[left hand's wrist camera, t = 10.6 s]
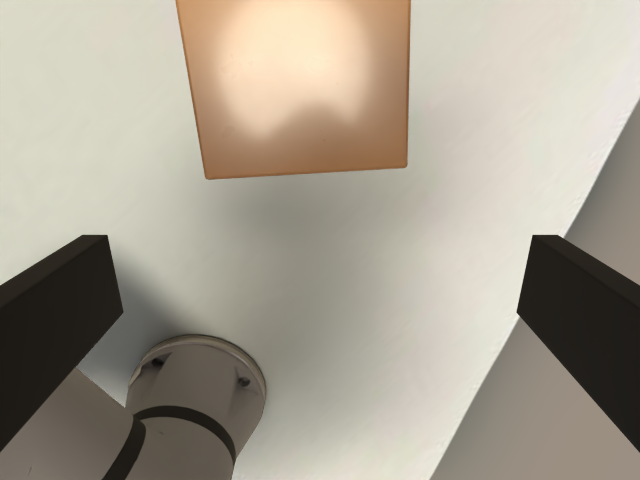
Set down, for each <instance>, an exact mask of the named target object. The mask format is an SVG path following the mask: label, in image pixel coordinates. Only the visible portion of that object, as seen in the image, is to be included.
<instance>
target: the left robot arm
mask: <svg viewBox="0 0 640 480" xmlns="http://www.w3.org/2000/svg"><path fill="white" fill-rule="evenodd" d="M122 313H123V308H122V303H121V298H120V293H119V289H118V284H117V279H116V274H115V269H114V265H113V260H112V255H111V250H110V245H109V241H108V236H107V235H82V236H80V237H78V238H77V239H75V240H73V241H72V242H70V243H69V244H67V245H65V246H64V247H62V248H60V249H59V250H57V251H56V252H54V253H52V254H51V255H49V256H47V257H46V258H44V259H43V260H41V261H39V262H38V263H36V264H34V265H33V266H31V267H30V268H28V269H26V270H25V271H23V272H21V273H20V274H18V275H17V276H15V277H13V278H12V279H10V280H8V281H7V282H5V283H4V284H2V285H0V480H231V479H232V474H233V469H234V465H235V461H236V458H237V456H238V455H239V453H240V451H241V450H242V448H243V447H244V445H245V444H246V442H247V441H248V439H249V437H250V436H251V434H252V433H253V431H254V430H255V428H256V426H257V425H258V422H259V420H260V418H261V416H262V413H263V408H264V403H265V396H266V388H265V382H264V379H263V376H262V374H261V372H260V370H259V368H258V367H257V365H256V364H255V363H254V361H253V360H252V359H251V358H250V357H249V356H248V355H247V354H246V353H244V352H243V351H242V350H240V349H239V348H237V347H236V346H234V345H232V344H230V343H228V342H226V341H223V340H220V339H217V338H213V337H209V336H201V335H185V336H178V337H174V338H171V339H168V340H165V341H163V342H161V343H159V344H158V345H156V346H154V347H153V348H152V349H151V350H149V351H148V352H147V353H146V355H145V356H144V357H143V358H142V360H141V362H140V363H139V365H138V366H137V368H136V369H135V371H134V373H133V375H132V378H131V380H130V381H129V386H128V388H129V389H128V395H127V401H126V407H125V408H124V407H123V406H122V405H120V404H119V403H118V402H117V401H115V400H114V399H113V398H112V397H110V396H109V395H108V394H107V393H106V392H104V391H103V390H102V389H101V388H100V387H98V386H97V385H96V384H95V383H94V382H92V381H91V380H90V379H89V378H88V377H86V376H85V375H84V374H83V373H82V372H80V371H79V370H78V369H77V368H76V366H77V365H78V364H79V362H80V361H81V360H82V359H83V358H84V357H85V356H86V354H87V353H88V352H89V351H90V350H91V349H92V348H93V346H94V345H95V344H96V343H97V342H98V341H99V340H100V338H101V337H102V336H103V335H104V334H105V333H106V332H107V331H108V329H109V328H110V327H111V326H112V325H113V324H114V323H115V321H116V320H117V319H118V318H119V317H120V316H121V315H122ZM517 313H518V315H519V316H520V317H521V318H522V319H523V320H524V321H525V323H526V324H527V325H528V326H529V327H530V328H531V329H532V330H533V332H534V333H535V334H536V335H537V336H538V337H539V338H540V340H541V341H542V342H543V343H544V344H545V345H546V346H547V348H548V349H549V350H550V351H551V352H552V353H553V354H554V356H555V357H556V358H557V359H558V360H559V361H560V362H561V364H562V365H563V366H564V367H565V368H566V369H567V370H568V371H569V373H570V374H571V375H572V376H573V377H574V378H575V379H576V381H577V382H578V383H579V384H580V385H581V386H582V387H583V389H584V390H585V391H586V392H587V393H588V394H589V395H590V397H591V398H592V399H593V400H594V401H595V402H596V403H597V404H598V406H599V407H600V408H601V409H602V410H603V411H604V412H605V414H606V415H607V416H608V417H609V418H610V419H611V420H612V422H613V423H614V424H615V425H616V426H617V427H618V428H619V429H620V431H621V432H622V433H623V434H624V435H625V436H626V437H627V439H628V440H629V441H630V442H631V443H632V444H633V445H634V447H635V448H636V449H637V450H638V451H639V452H640V285H638V284H636V283H635V282H633V281H631V280H630V279H628V278H627V277H625V276H623V275H622V274H620V273H618V272H617V271H615V270H614V269H612V268H610V267H609V266H607V265H606V264H604V263H602V262H601V261H599V260H597V259H596V258H594V257H593V256H591V255H589V254H588V253H586V252H584V251H583V250H581V249H580V248H578V247H576V246H575V245H573V244H571V243H570V242H568V241H566V240H565V239H563V238H562V237H560V236H558V235H533V236H532V241H531V245H530V250H529V255H528V260H527V265H526V269H525V274H524V279H523V284H522V289H521V293H520V298H519V303H518V308H517Z"/></svg>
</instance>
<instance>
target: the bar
mask: <svg viewBox="0 0 640 480" xmlns="http://www.w3.org/2000/svg"><path fill="white" fill-rule="evenodd" d="M175 1H176V7H177V13H178V19H179V25H180V31H181V37H182V43H183V49H184V55H185V61H186V67H187V72H188V78H189V84H190V90H191V96H192V102H193V108H194V114H195V120H196V126H197V132H198V138H199V144H200V150H201V156H202V162H203V168H204V174H205V178H206V179H208V180H212V179H229V178H246V177H262V176H279V175H296V174H312V173H329V172H346V171H362V170H379V169H396V168H405V167H406V166H407V155H408V109H409V63H410V18H411V0H175Z"/></svg>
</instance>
